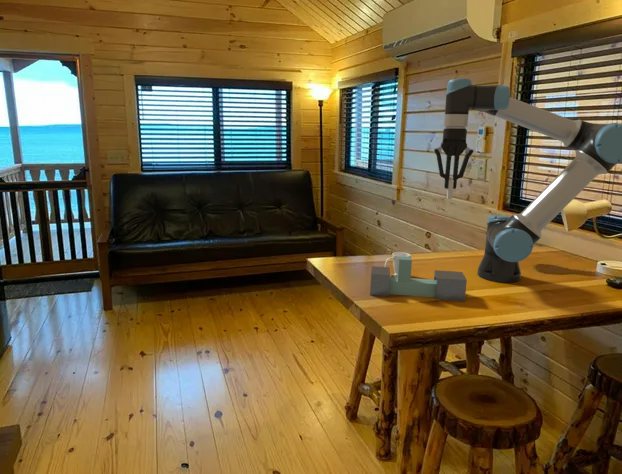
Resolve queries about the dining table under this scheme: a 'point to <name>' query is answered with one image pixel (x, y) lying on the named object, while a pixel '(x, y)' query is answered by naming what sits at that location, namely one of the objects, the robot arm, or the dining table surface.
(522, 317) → the dining table surface
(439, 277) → the gray block
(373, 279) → the socket
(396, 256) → the cup
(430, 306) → the dining table surface
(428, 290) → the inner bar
